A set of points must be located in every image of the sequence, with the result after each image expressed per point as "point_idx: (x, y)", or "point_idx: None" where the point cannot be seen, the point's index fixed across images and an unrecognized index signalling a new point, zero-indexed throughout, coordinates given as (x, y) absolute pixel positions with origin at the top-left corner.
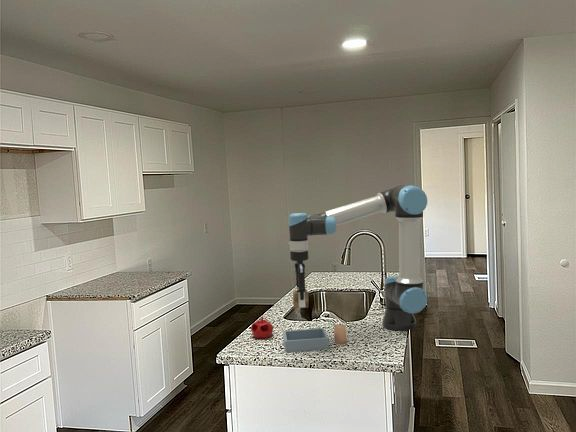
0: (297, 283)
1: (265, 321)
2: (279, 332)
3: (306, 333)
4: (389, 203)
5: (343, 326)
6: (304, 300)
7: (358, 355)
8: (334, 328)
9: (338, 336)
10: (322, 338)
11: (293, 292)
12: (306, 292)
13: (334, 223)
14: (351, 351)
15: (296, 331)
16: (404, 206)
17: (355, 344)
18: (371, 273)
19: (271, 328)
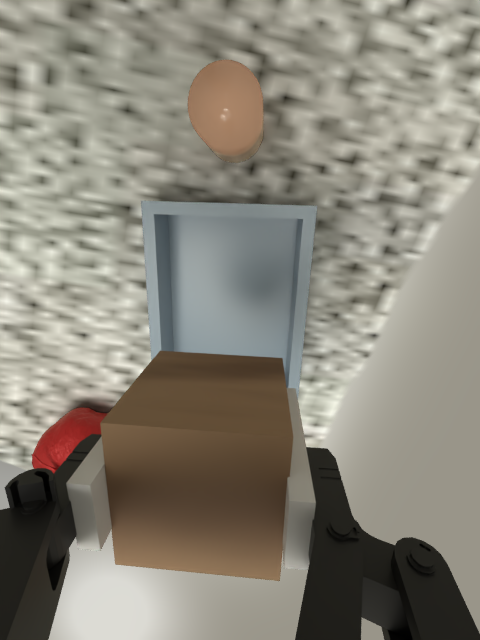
0: (50, 618)
1: (56, 462)
2: (57, 375)
3: (163, 292)
4: None
5: (234, 79)
6: (301, 431)
7: (447, 73)
8: (233, 148)
9: (258, 137)
10: (313, 238)
11: (210, 573)
12: (240, 450)
13: None
14: (378, 99)
15: (162, 340)
16: None
17: (286, 53)
18: None
19: (99, 429)
